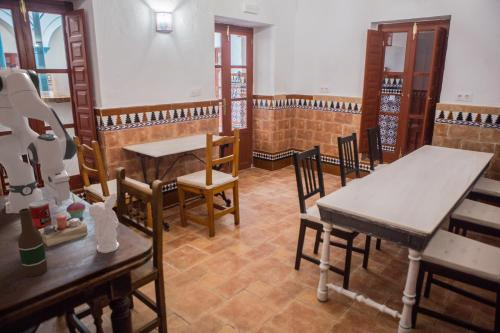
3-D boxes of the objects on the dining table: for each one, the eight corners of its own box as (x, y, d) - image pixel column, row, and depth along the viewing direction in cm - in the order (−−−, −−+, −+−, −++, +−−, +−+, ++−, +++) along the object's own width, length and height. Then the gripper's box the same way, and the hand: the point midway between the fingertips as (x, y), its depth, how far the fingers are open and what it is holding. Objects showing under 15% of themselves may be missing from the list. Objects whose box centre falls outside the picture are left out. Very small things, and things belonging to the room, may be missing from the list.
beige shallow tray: (39, 238, 155) (38, 229, 154) (78, 226, 166) (76, 218, 165) (48, 246, 148) (46, 238, 147) (87, 234, 159) (86, 225, 157)
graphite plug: (44, 239, 153) (42, 227, 152) (55, 236, 156) (53, 224, 155) (47, 242, 150) (45, 230, 149) (58, 239, 153) (56, 227, 152)
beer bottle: (30, 266, 134) (18, 205, 127) (52, 265, 134) (41, 205, 128) (19, 278, 126) (6, 214, 120) (42, 276, 127) (30, 213, 120)
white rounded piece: (69, 231, 160) (67, 220, 159) (78, 228, 163) (77, 217, 161) (72, 234, 157) (70, 223, 156) (82, 231, 160) (80, 220, 159)
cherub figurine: (100, 257, 140) (91, 204, 134) (86, 246, 148) (77, 196, 142) (128, 245, 149) (122, 195, 142) (113, 236, 157) (107, 188, 150)
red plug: (56, 228, 156) (53, 216, 154) (66, 225, 159) (64, 214, 157) (59, 231, 153) (57, 219, 151) (69, 228, 156) (67, 216, 154)
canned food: (43, 229, 163) (39, 206, 160) (28, 228, 165) (24, 205, 162) (55, 222, 170) (52, 200, 167) (41, 221, 172) (37, 199, 169)
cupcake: (64, 217, 176) (61, 194, 173) (82, 211, 182) (79, 189, 179) (72, 222, 171) (68, 198, 167) (89, 216, 177) (86, 193, 173)
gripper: (37, 170, 154) (42, 200, 158) (53, 180, 140) (59, 213, 144) (53, 167, 158) (58, 197, 162) (70, 177, 144) (75, 209, 148)
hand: (58, 205), depth 153 cm, fingers closed
